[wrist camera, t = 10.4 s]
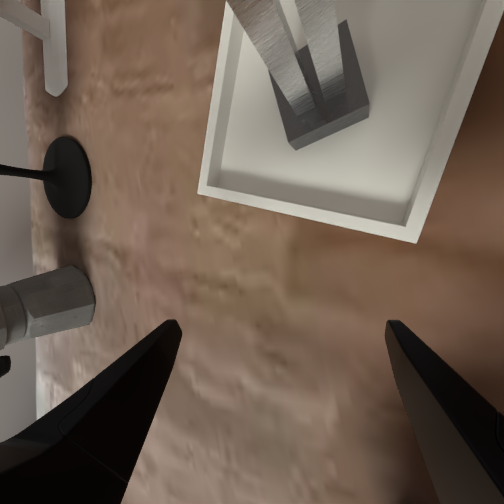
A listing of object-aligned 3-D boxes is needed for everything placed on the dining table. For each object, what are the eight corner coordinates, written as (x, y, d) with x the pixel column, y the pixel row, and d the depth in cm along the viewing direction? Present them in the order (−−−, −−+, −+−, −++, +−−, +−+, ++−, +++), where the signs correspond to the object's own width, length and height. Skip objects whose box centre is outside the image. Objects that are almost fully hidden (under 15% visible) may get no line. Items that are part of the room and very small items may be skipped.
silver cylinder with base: (368, 117, 15) (402, -345, 3) (295, 150, 17) (133, -25, 5) (348, 43, 15) (289, -750, 3) (277, 85, 17) (70, -251, 5)
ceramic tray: (519, -61, 12) (551, -117, 10) (409, 240, 15) (416, 243, 13) (246, -13, 18) (232, -42, 16) (212, 196, 22) (197, 193, 20)
